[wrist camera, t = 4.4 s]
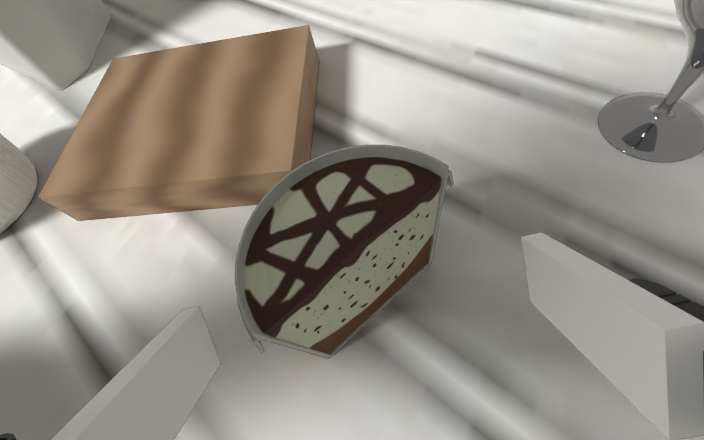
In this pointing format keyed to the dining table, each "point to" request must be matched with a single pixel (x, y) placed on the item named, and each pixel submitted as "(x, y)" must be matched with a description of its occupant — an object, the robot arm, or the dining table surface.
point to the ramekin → (14, 183)
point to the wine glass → (662, 106)
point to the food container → (337, 244)
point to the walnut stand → (191, 128)
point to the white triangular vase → (51, 38)
